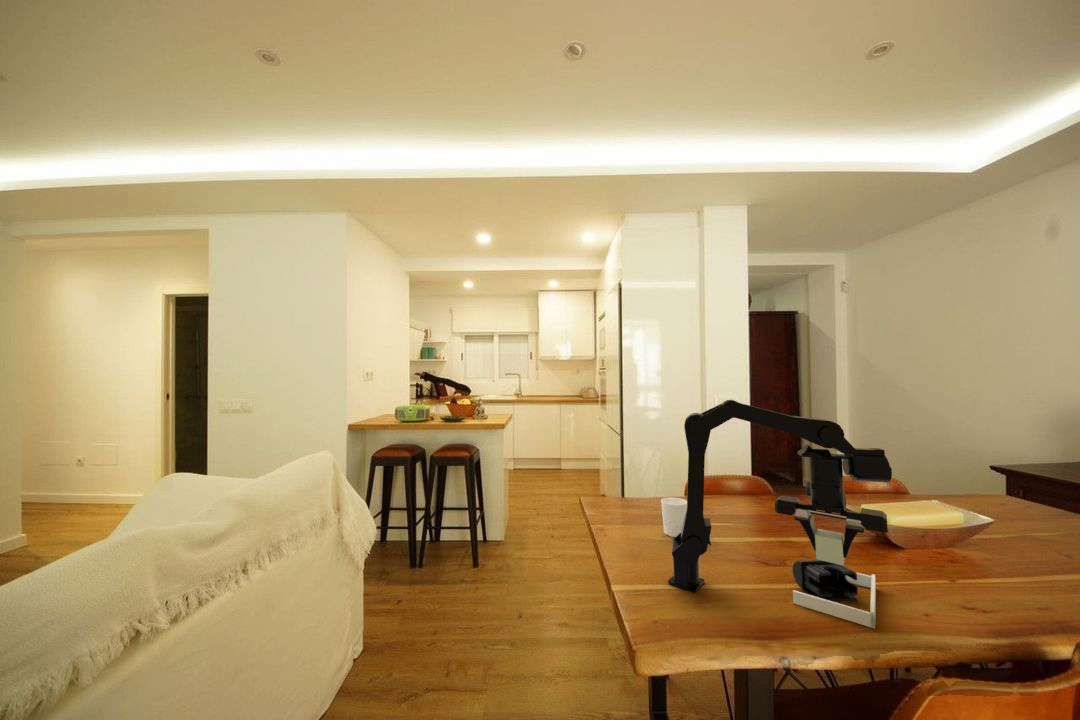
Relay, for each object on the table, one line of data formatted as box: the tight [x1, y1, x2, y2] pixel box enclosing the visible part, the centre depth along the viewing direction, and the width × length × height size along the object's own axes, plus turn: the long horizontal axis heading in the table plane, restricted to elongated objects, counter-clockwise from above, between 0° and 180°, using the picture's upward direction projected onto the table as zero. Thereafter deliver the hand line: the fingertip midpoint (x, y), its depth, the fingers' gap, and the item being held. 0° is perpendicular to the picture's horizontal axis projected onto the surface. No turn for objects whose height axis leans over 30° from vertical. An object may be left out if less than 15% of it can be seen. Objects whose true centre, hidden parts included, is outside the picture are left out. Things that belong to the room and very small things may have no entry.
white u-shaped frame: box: [792, 572, 877, 629], centre depth 85 cm, size 19×13×3 cm
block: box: [815, 528, 846, 566], centre depth 81 cm, size 4×4×5 cm
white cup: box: [660, 496, 687, 538], centre depth 121 cm, size 8×8×10 cm
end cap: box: [792, 559, 859, 603], centre depth 86 cm, size 10×7×7 cm
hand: (830, 553), depth 81 cm, fingers closed on block, 4 cm apart
